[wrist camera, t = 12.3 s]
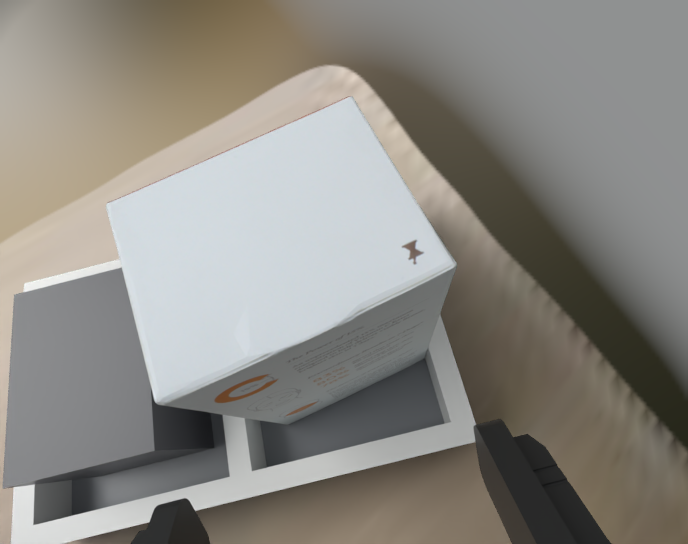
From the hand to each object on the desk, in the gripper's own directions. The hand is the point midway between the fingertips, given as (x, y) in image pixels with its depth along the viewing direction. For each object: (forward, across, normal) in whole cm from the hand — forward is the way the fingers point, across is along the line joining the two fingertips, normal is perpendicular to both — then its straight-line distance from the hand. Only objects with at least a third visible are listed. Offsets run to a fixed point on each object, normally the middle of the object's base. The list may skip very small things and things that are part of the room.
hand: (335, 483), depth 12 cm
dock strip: (+13, +5, +4) cm, 14 cm away
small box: (+12, 0, +3) cm, 12 cm away
